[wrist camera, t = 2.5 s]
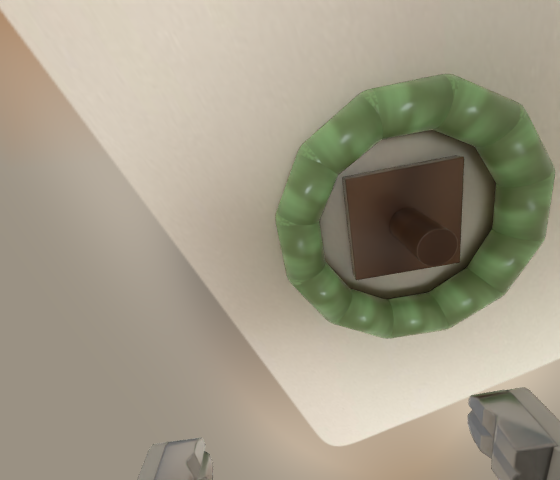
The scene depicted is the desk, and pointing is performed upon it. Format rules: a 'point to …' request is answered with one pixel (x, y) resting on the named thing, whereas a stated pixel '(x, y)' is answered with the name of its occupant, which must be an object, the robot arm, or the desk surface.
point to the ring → (401, 121)
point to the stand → (405, 217)
